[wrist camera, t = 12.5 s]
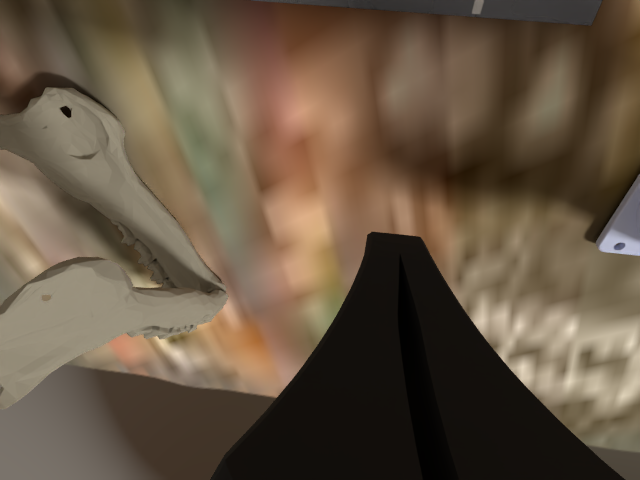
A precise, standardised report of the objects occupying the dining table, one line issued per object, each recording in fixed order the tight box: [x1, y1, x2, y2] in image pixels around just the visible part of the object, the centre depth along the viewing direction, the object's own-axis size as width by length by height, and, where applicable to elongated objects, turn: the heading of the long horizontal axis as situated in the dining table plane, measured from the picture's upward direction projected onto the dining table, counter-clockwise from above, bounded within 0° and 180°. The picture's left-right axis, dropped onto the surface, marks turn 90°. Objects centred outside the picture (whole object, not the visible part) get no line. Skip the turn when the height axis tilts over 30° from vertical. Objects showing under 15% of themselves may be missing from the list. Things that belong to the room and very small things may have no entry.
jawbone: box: [0, 87, 228, 409], centre depth 21 cm, size 14×8×15 cm
